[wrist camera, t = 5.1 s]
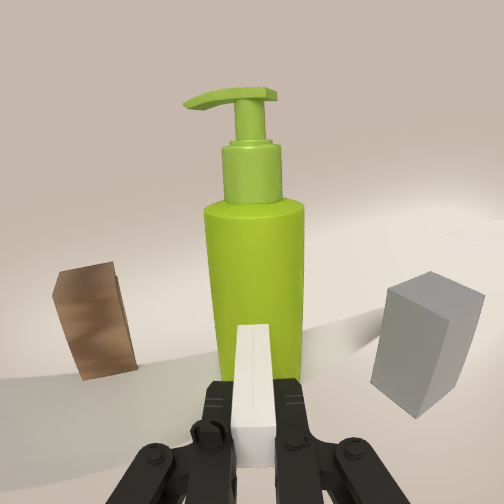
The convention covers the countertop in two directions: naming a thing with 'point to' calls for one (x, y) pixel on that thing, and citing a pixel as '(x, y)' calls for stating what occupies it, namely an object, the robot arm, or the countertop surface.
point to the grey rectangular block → (424, 340)
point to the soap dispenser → (254, 239)
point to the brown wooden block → (94, 320)
